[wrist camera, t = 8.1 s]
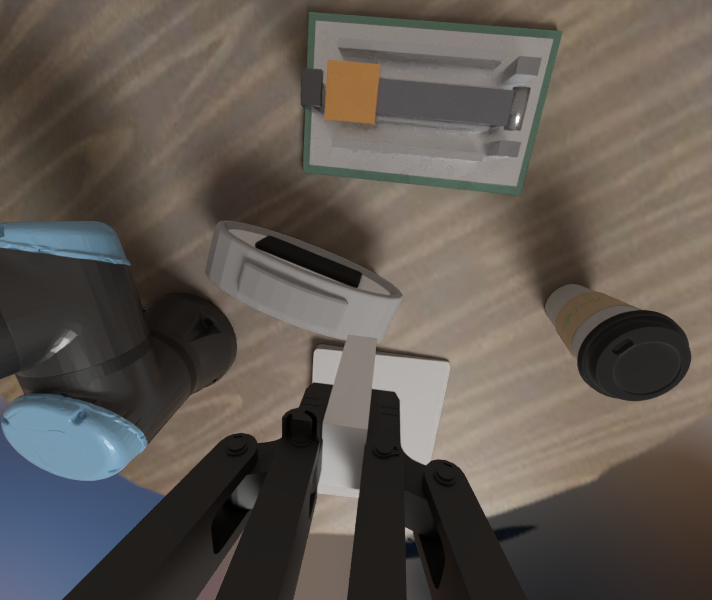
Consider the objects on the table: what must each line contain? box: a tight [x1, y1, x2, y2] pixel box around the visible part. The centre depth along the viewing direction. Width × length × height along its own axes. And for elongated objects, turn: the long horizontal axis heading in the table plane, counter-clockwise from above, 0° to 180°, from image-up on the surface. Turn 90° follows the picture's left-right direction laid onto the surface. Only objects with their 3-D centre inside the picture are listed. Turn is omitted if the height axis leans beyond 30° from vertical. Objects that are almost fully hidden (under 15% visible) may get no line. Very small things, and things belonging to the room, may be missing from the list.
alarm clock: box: [205, 220, 403, 342], centre depth 42 cm, size 23×6×13 cm, turn 69°
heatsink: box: [301, 12, 563, 196], centre depth 36 cm, size 26×16×8 cm, turn 85°
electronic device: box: [312, 344, 450, 498], centre depth 57 cm, size 29×20×2 cm
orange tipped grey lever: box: [324, 60, 531, 131], centre depth 34 cm, size 19×5×2 cm, turn 85°
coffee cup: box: [545, 284, 691, 401], centre depth 39 cm, size 9×9×15 cm
